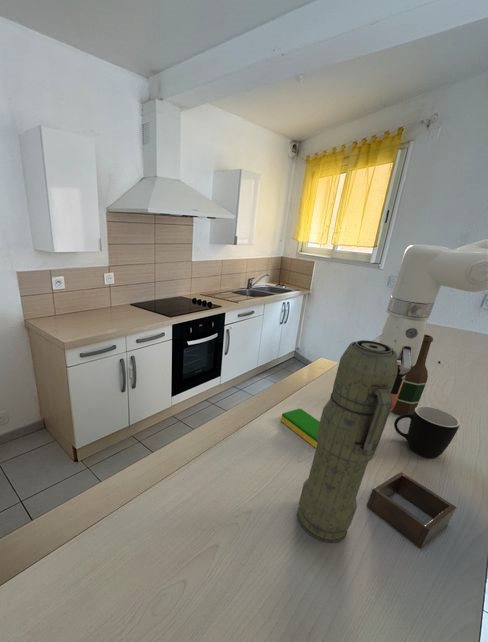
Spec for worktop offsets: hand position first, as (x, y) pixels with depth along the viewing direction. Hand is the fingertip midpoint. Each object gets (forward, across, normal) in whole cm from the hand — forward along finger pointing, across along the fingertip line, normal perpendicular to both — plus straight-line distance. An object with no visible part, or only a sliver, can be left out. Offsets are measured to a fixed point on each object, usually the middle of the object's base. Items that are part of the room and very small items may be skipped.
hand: (383, 384), depth 73 cm
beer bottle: (+18, +24, -16) cm, 34 cm away
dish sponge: (+18, +3, +13) cm, 23 cm away
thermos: (+18, -25, +13) cm, 34 cm away
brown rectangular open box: (+18, -19, -4) cm, 27 cm away
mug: (+18, +5, -14) cm, 23 cm away
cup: (+5, 0, 0) cm, 5 cm away
